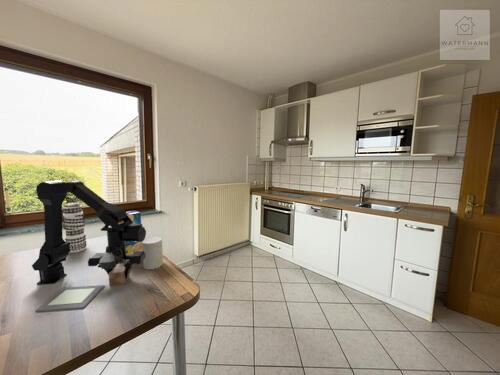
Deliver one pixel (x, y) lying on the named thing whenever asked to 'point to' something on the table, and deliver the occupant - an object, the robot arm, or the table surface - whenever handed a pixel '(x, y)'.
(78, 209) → the decorative candle
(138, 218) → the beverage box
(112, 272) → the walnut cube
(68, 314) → the table surface
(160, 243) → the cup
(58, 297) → the rest pad
